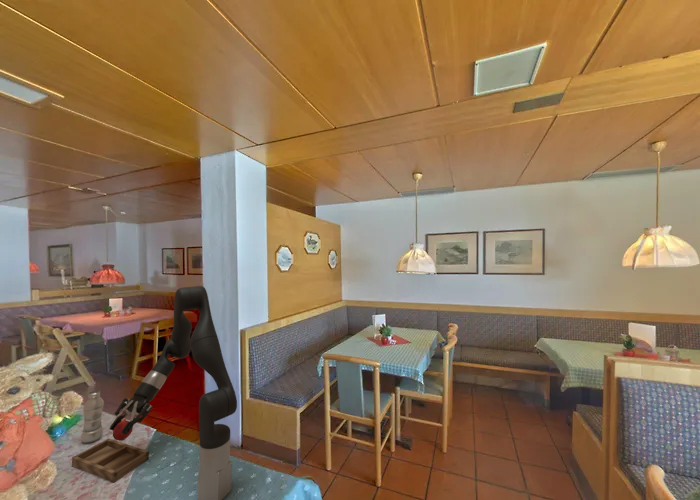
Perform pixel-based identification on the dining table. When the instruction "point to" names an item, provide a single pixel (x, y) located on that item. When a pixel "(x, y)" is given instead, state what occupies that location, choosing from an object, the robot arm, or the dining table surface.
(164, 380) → the robot arm
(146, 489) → the dining table surface
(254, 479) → the dining table surface
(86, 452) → the walnut tray
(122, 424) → the pomegranate
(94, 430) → the plastic bottle
